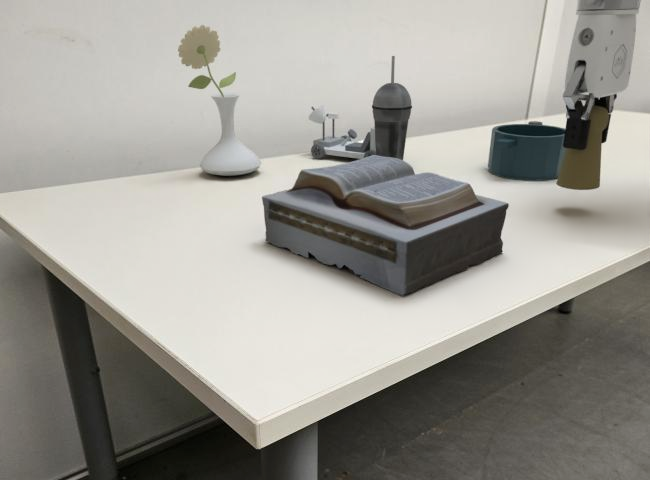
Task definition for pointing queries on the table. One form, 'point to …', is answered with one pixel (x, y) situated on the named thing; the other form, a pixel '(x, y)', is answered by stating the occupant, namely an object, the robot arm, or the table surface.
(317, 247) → the bible
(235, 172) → the flower in vase
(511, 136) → the pot
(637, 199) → the table surface
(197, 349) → the table surface
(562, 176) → the cork
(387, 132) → the beverage cup
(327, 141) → the toy car
